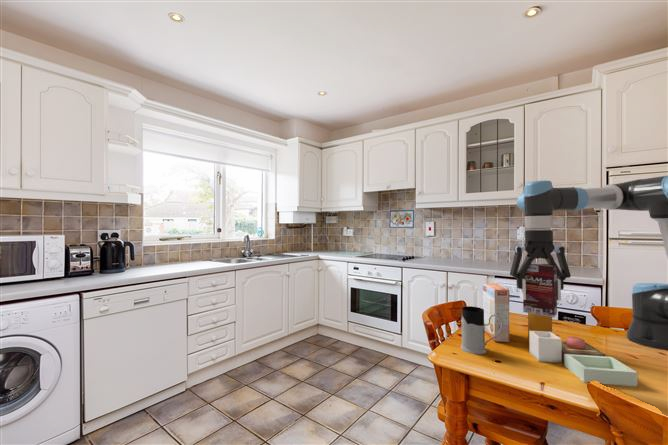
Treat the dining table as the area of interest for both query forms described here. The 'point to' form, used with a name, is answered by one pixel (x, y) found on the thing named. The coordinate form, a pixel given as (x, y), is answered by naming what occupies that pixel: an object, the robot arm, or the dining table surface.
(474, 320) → the glass holder
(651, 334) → the robot arm
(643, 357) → the dining table surface
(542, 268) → the supplement box
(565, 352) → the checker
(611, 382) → the trough
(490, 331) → the cracker box
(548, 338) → the open box
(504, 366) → the dining table surface
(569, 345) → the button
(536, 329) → the flashlight
